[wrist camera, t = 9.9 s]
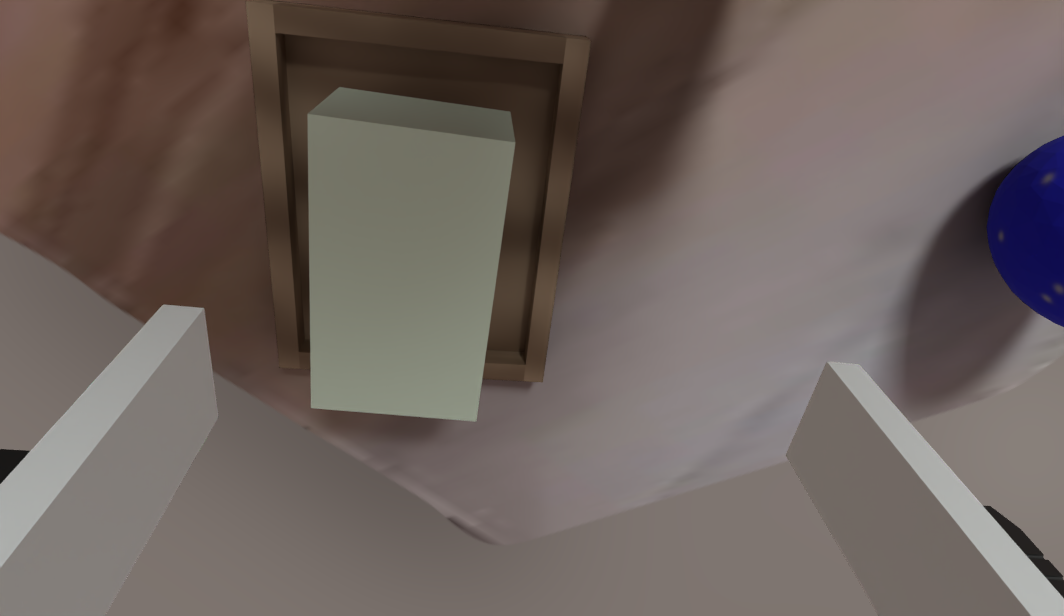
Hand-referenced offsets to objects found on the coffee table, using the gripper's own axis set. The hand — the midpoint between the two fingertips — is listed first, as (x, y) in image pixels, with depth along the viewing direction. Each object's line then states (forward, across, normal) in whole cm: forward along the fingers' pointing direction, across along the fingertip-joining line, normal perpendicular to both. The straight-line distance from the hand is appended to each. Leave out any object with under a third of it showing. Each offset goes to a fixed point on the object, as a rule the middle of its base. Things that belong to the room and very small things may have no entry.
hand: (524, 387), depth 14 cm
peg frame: (+23, -4, -6) cm, 24 cm away
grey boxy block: (+20, -4, -6) cm, 21 cm away
